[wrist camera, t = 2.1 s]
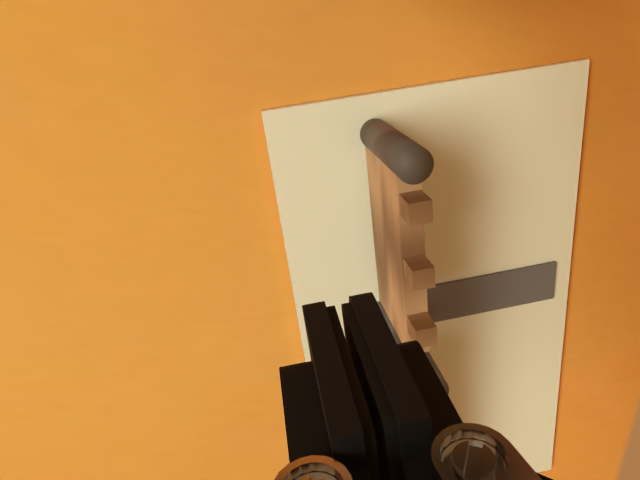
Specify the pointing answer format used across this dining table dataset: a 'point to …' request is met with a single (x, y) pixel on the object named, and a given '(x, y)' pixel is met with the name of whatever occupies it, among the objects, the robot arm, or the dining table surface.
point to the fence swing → (401, 228)
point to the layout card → (453, 227)
